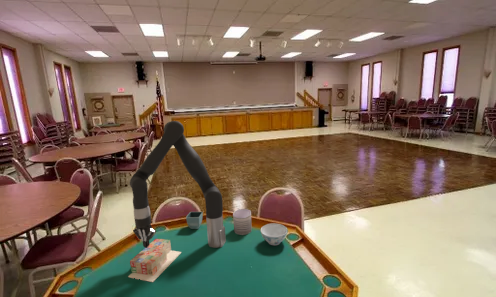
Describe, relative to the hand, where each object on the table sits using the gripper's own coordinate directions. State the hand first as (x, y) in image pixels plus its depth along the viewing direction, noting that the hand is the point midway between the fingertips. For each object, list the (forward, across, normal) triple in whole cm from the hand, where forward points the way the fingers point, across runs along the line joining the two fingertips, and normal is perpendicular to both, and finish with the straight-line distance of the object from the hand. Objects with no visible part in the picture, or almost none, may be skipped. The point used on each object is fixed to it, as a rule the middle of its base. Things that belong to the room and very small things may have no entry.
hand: (146, 246), depth 130 cm
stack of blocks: (+6, +4, -1) cm, 7 cm away
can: (+9, -37, -43) cm, 57 cm away
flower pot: (+9, -5, -40) cm, 41 cm away
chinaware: (+9, -59, -34) cm, 69 cm away
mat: (+9, -5, 0) cm, 10 cm away
